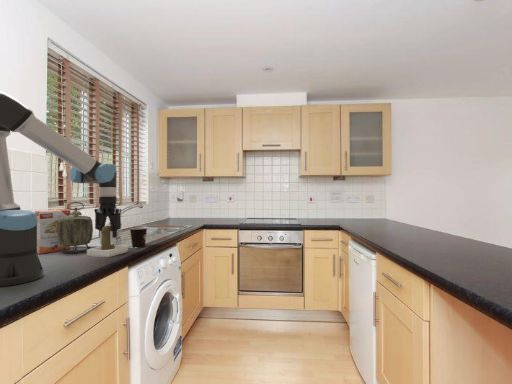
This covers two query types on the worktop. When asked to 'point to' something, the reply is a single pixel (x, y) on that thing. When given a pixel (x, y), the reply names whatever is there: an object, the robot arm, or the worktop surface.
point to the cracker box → (49, 230)
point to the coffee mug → (138, 236)
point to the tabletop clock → (75, 229)
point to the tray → (107, 251)
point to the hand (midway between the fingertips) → (107, 244)
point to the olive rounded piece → (106, 239)
